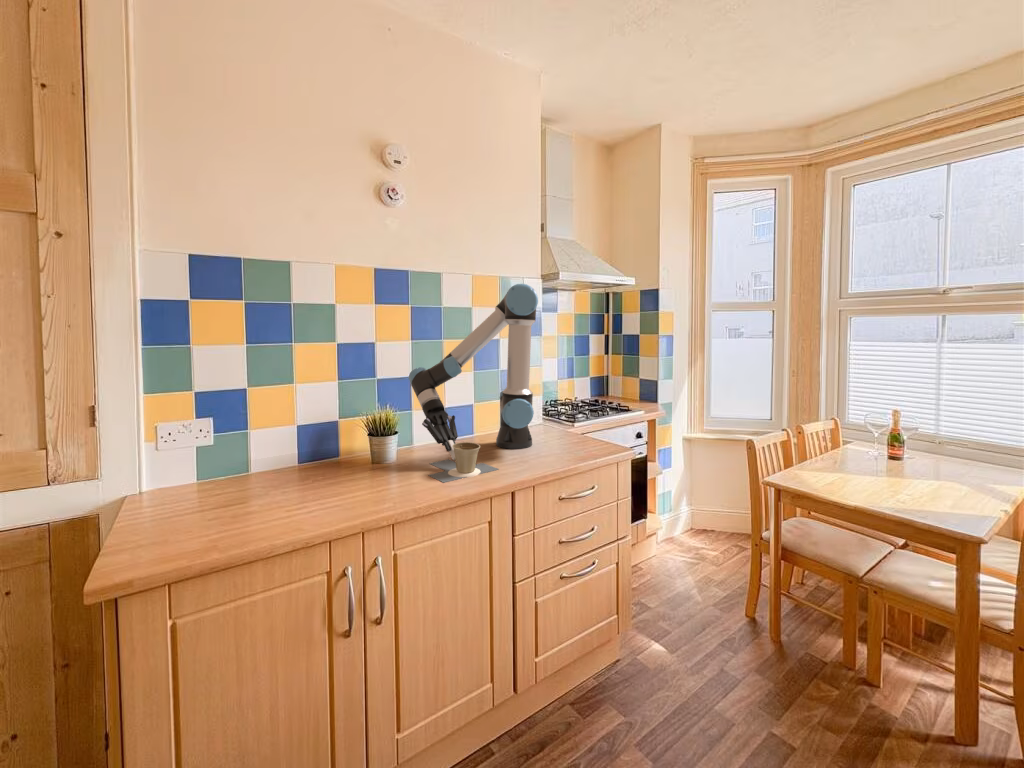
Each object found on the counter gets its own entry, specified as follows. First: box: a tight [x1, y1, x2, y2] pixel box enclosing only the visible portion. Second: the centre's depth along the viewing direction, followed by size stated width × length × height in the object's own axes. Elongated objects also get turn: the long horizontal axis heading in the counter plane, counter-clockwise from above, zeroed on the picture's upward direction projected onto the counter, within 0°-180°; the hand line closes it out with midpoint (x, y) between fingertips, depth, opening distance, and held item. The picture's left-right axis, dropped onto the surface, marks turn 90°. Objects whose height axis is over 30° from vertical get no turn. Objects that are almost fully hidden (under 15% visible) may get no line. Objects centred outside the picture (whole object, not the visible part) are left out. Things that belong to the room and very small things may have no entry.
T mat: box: [427, 458, 500, 484], centre depth 161 cm, size 22×22×1 cm
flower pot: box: [452, 441, 481, 473], centre depth 157 cm, size 9×9×9 cm
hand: (456, 457), depth 160 cm, fingers closed
